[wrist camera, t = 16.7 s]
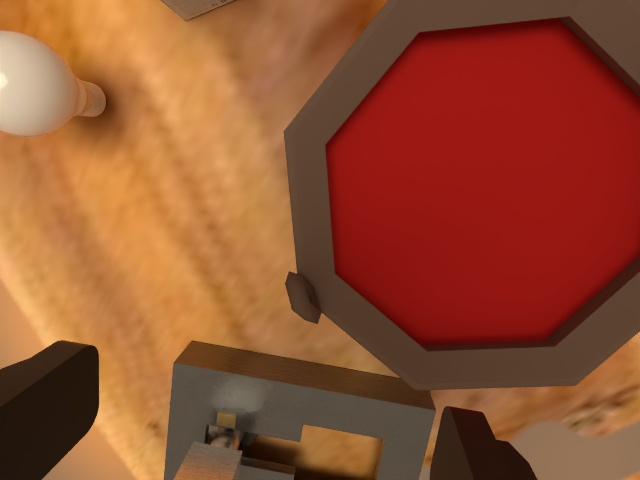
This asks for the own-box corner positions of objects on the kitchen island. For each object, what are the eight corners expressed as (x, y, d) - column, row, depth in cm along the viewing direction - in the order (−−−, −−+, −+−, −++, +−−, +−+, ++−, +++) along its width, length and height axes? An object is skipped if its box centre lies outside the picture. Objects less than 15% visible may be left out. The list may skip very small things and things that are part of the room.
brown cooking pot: (368, 359, 37) (382, 517, 21) (240, 116, 33) (139, 83, 17) (634, 246, 33) (898, 335, 17) (524, -44, 29) (734, -275, 13)
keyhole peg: (265, 397, 38) (231, 500, 27) (259, 442, 40) (223, 558, 28) (214, 388, 39) (159, 486, 27) (209, 432, 40) (154, 544, 29)
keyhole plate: (426, 383, 37) (436, 412, 33) (396, 508, 40) (401, 548, 36) (191, 340, 38) (172, 363, 34) (180, 466, 41) (161, 501, 37)
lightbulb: (147, 100, 33) (51, 76, 23) (101, 156, 35) (-11, 158, 24) (88, 42, 33) (-39, -11, 22) (43, 101, 34) (-98, 77, 23)
